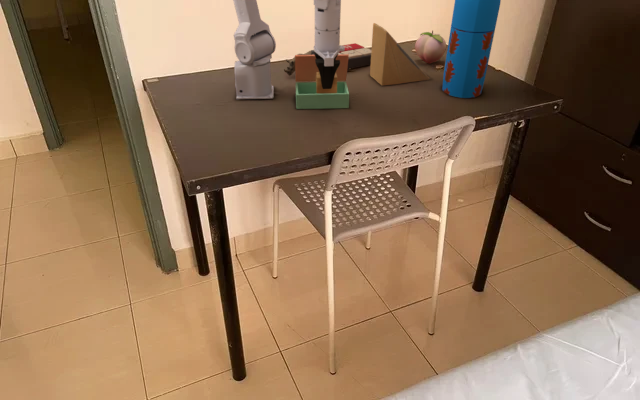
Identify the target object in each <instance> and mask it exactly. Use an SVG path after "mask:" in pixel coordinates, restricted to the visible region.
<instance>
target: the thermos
mask: <svg viewBox="0 0 640 400" xmlns="http://www.w3.org/2000/svg"><path fill="white" fill-rule="evenodd" d="M501 2H502V1H501V0H454V4H453V10H452V18H451V25H450V30H449V37H448V43H447V48H446V50H447V51H446V57H445V63H444V67H443V68H444V70H443V76H442V86H441V87H442V88H441V91H443V93H444V94H447V96H451V97H454V98H460V99H472V98H476V97H477V98H478V97H479V96H480V95H481V94H482V92H483V88H484V85H485V80H486V76H487V71H488V67H489V61H490V56H491V51H492V46H493V41H494V37H495V33H496V27H497V21H498V18H499V11H500V7H501Z"/></svg>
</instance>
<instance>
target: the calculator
mask: <svg viewBox="0 0 640 400" xmlns="http://www.w3.org/2000/svg"><path fill="white" fill-rule="evenodd" d="M343 46H344V47H345V50H344V51H340V52H339V53H338V54H349V58H348V68H347V72H348V71H349V70H350V69H355V68H360V67H365V66H371V51H372V49H370V48H368V47H365V46H363V45H360V44H358V43H348V44H343Z"/></svg>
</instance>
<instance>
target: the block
mask: <svg viewBox="0 0 640 400" xmlns="http://www.w3.org/2000/svg"><path fill="white" fill-rule="evenodd" d="M315 82H316V91H317V94H326V93H337V82H338V81H337V74H336V73H335V76H334V81H333V85H332V88H331V89H323V88H322V84H321V77H320V72H316V81H315Z"/></svg>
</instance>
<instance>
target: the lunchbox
mask: <svg viewBox="0 0 640 400" xmlns="http://www.w3.org/2000/svg"><path fill="white" fill-rule="evenodd" d="M349 107H350V91H349V88H348V84H347V81H337V93H326V94H317V91H316V81H310V82H296V81H295V108H296V110H313V109H314V110H315V109H316V110H318V109H350V108H349Z"/></svg>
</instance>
